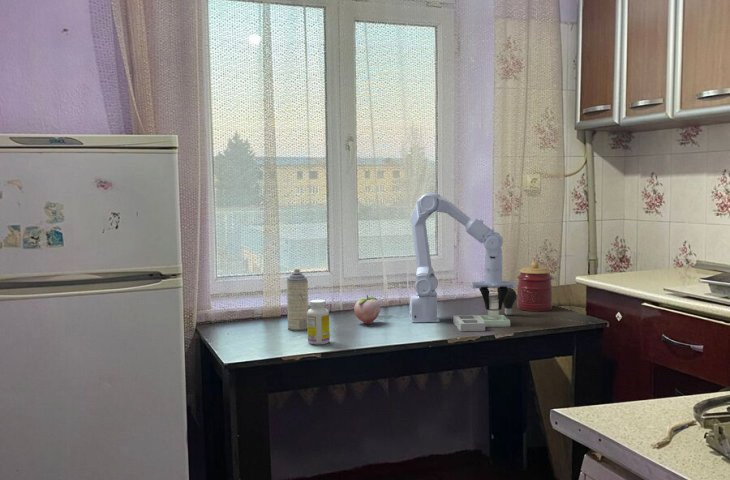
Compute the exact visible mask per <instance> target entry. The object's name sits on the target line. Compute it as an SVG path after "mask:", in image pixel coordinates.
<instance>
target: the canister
mask: <svg viewBox="0 0 730 480" xmlns="http://www.w3.org/2000/svg"><path fill="white" fill-rule="evenodd" d="M519 272H520V274H518V275H517V276H516V278H517V279H518V281H517V282H518V284H517V285H516V287H517V291H516V299H517V300H516V306H517V307H516V308H517V309H518V310H522V311H527V312H546V311H551V310H552V309H553V288H554V287H553V284H552V280H553V279H554V277H553V276H552V275H551V270H550V269H548V268H547V267H545V266H540V264H539V263H538V261H532V263H531V266H524V267H522V268H521V269H520V270H519Z"/></svg>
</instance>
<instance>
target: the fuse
mask: <svg viewBox="0 0 730 480" xmlns="http://www.w3.org/2000/svg"><path fill="white" fill-rule="evenodd" d="M487 315H488V320H499V315H500V310H499V299H498V297H489V310H487Z"/></svg>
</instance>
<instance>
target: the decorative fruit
mask: <svg viewBox="0 0 730 480" xmlns="http://www.w3.org/2000/svg"><path fill="white" fill-rule="evenodd" d="M353 309H354V314H355V316H356V317H357V319H358V320H359V321H361V322H362V323H364V324H366V325H369V324H371V323H373V322H375V320H376V319H377V318H378V316H379V314H380V313H381V305H380V303H379V302H378V299H377V298H376V297H374V296H368V294H367V295H366V297H365V298H360V299H359V300H357V302H355V304H354V308H353Z"/></svg>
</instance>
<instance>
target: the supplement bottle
mask: <svg viewBox="0 0 730 480" xmlns="http://www.w3.org/2000/svg"><path fill="white" fill-rule="evenodd" d="M326 301H327V300H325V299H312V300H310V301H309V306H310V309H309V308H308V312H307V325H308V330H307V341H308V343H309V344H310V345H316V346H317V345H326V344H328V343H330V339H331V338H330V336H331V335H330V311H329V310H328V308H326V305H327V304H326Z"/></svg>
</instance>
